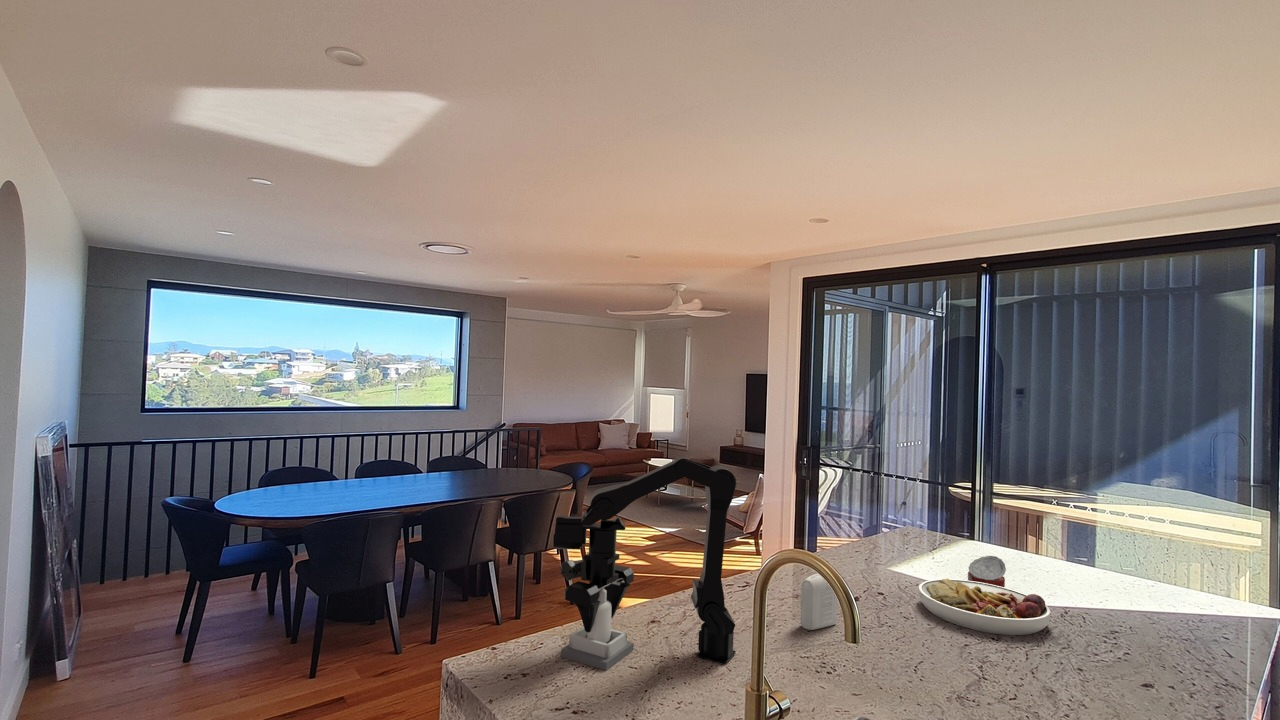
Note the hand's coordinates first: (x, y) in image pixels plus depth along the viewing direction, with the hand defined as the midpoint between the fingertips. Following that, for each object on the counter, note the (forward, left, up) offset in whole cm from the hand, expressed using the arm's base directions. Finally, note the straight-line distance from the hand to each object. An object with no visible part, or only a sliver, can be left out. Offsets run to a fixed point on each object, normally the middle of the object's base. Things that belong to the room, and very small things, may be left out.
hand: (599, 624), depth 127 cm
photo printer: (-36, -43, -6) cm, 57 cm away
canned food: (-73, -106, -6) cm, 129 cm away
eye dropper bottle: (0, 0, -4) cm, 4 cm away
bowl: (-71, -75, -7) cm, 104 cm away
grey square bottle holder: (0, 0, -6) cm, 6 cm away
